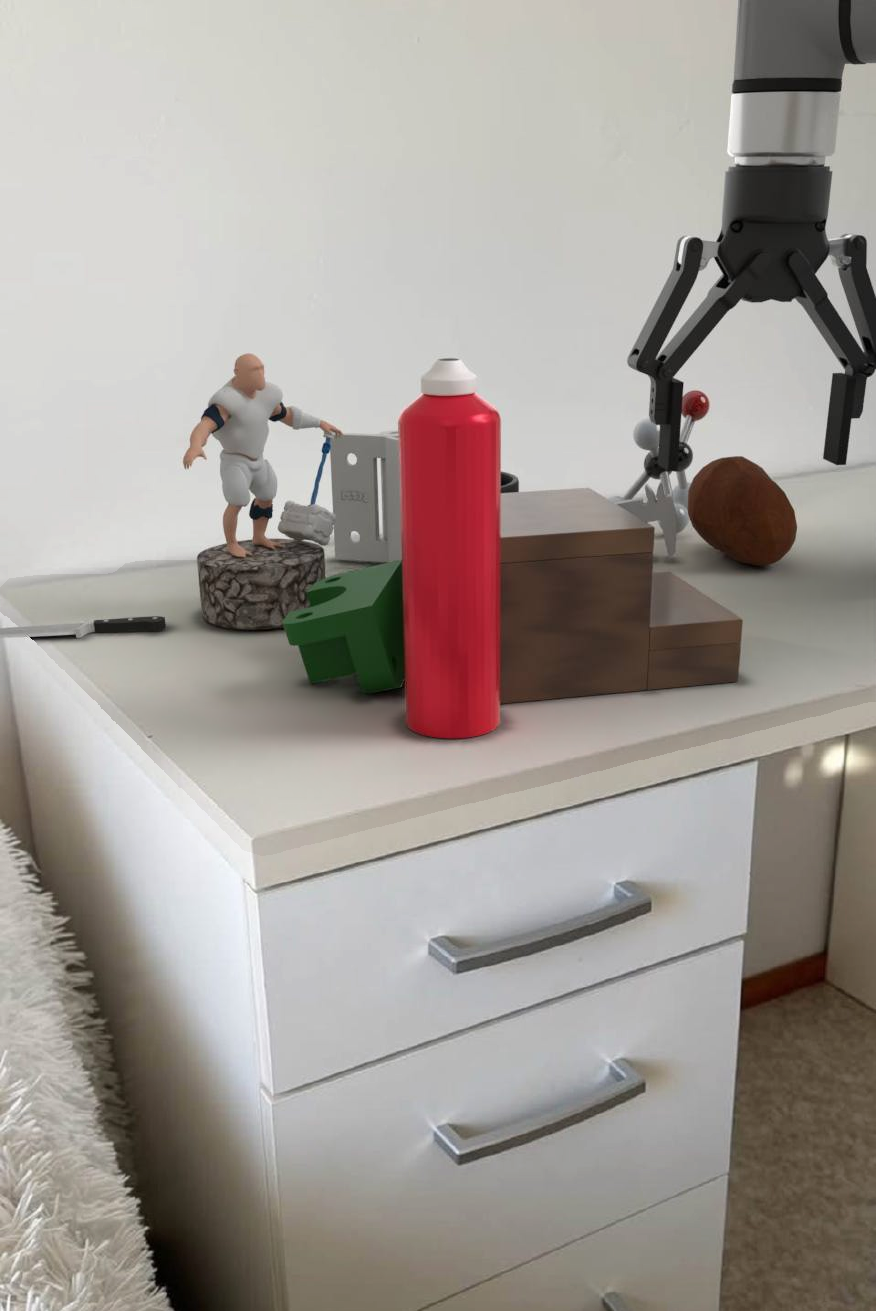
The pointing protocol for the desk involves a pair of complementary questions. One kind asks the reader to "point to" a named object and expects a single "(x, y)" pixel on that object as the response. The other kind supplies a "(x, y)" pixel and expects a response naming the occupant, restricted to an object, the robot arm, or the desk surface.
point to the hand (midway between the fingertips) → (751, 465)
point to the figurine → (258, 508)
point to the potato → (741, 511)
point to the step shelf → (599, 605)
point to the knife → (87, 627)
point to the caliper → (656, 513)
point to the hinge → (366, 496)
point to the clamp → (353, 628)
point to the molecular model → (648, 439)
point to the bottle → (451, 554)
